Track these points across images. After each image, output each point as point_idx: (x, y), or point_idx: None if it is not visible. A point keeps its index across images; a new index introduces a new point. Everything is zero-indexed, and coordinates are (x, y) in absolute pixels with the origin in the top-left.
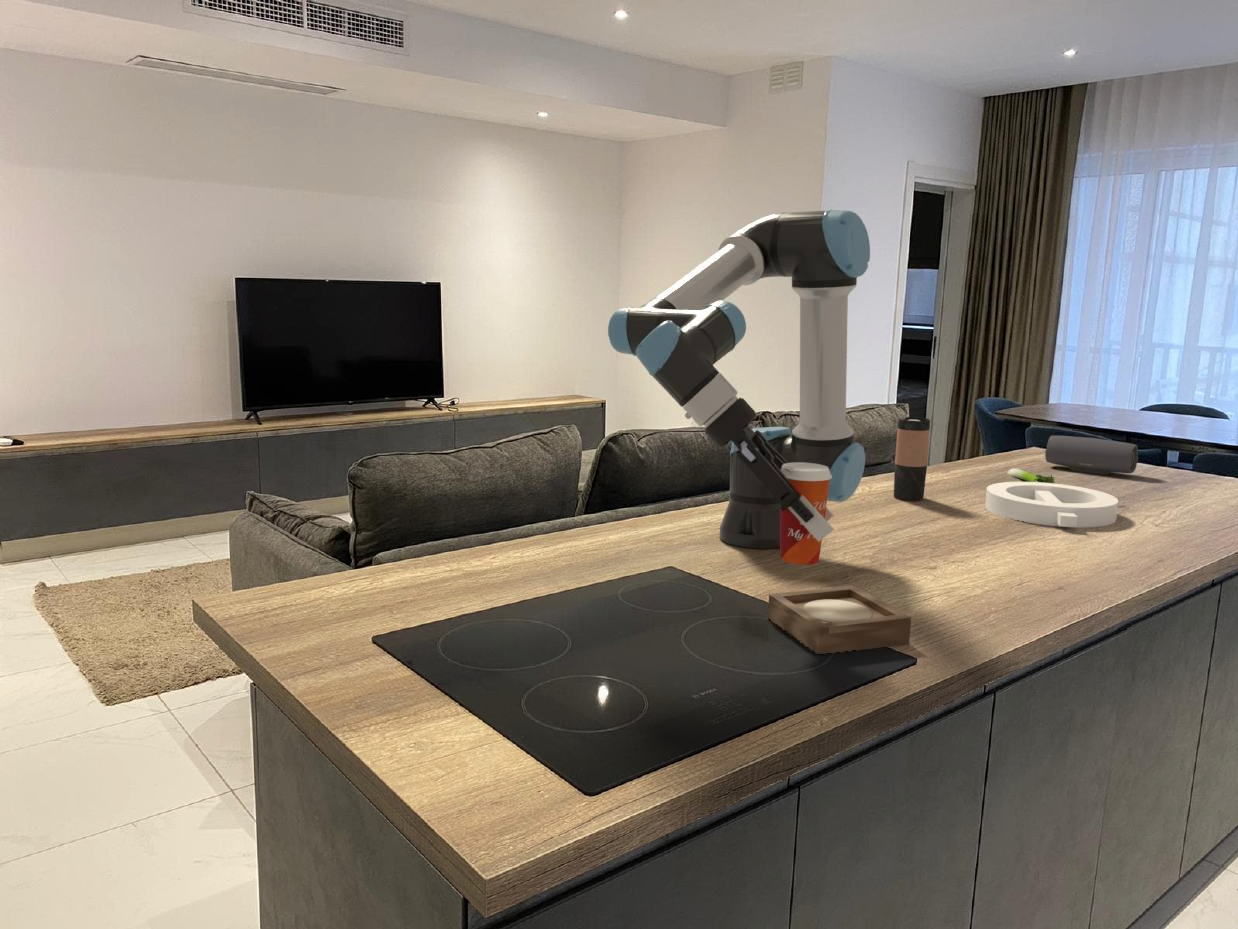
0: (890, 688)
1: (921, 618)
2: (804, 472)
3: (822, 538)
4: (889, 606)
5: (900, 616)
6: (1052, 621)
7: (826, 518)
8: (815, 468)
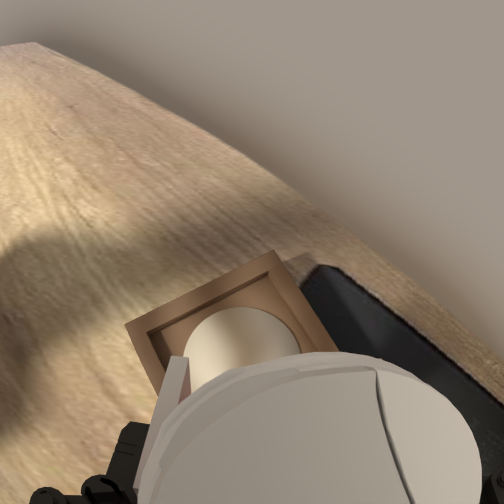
0: (414, 301)
1: (162, 238)
2: (477, 494)
3: None
4: (227, 276)
5: (273, 264)
6: (161, 118)
7: (189, 381)
8: (388, 465)
